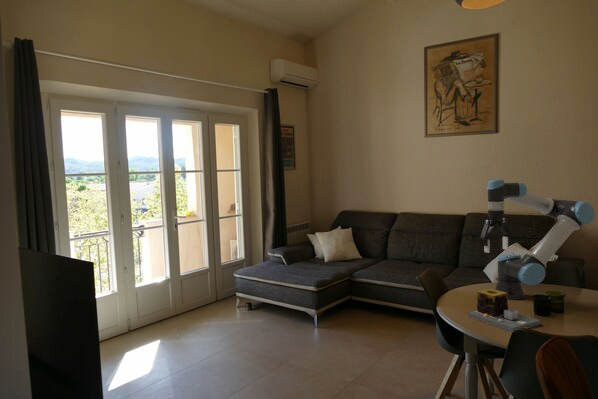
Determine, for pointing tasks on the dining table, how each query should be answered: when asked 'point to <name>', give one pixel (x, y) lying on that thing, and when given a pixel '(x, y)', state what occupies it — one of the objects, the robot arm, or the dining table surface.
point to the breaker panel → (505, 321)
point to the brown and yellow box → (492, 302)
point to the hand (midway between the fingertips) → (496, 250)
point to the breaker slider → (510, 314)
